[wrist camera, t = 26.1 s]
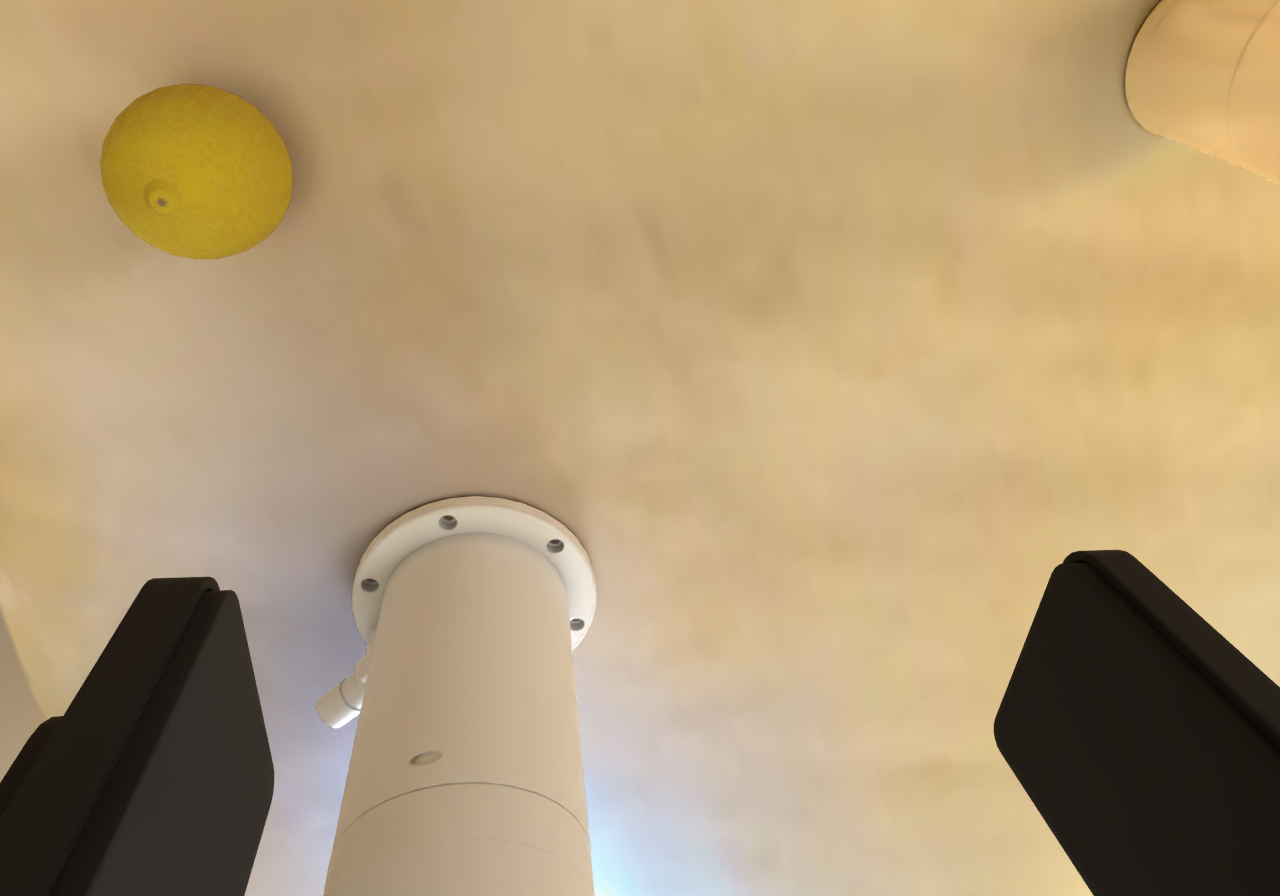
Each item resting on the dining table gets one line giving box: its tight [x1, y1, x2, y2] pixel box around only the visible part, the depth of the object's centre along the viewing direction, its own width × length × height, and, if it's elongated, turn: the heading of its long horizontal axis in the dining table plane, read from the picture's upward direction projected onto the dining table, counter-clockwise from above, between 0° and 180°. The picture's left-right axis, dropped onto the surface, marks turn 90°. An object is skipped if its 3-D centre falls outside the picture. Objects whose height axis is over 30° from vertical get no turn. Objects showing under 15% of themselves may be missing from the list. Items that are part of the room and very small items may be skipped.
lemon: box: [100, 84, 293, 259], centre depth 28 cm, size 6×6×8 cm
